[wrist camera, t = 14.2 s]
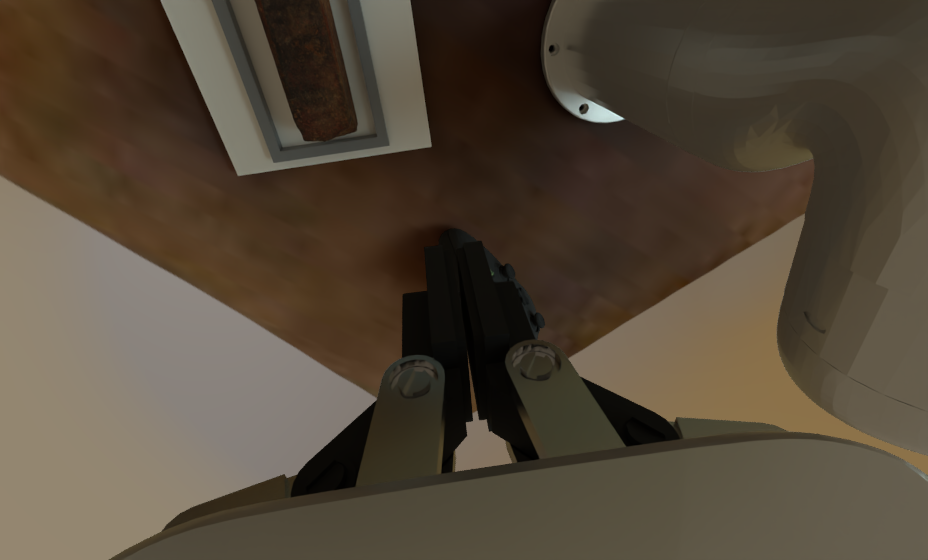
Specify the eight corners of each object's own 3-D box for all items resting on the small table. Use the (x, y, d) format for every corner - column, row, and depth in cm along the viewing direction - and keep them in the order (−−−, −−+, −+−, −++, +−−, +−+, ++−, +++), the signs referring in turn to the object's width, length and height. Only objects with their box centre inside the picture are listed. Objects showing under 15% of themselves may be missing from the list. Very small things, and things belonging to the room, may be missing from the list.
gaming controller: (543, 288, 47) (576, 350, 39) (501, 318, 48) (524, 382, 40) (467, 204, 40) (489, 259, 31) (421, 242, 41) (430, 303, 33)
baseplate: (393, -109, 26) (394, -116, 24) (430, 142, 35) (432, 150, 34) (133, -81, 25) (114, -87, 23) (242, 170, 34) (234, 180, 33)
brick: (257, -41, 26) (235, -46, 22) (320, -47, 26) (309, -54, 23) (309, 129, 32) (299, 148, 29) (359, 122, 33) (356, 140, 29)
